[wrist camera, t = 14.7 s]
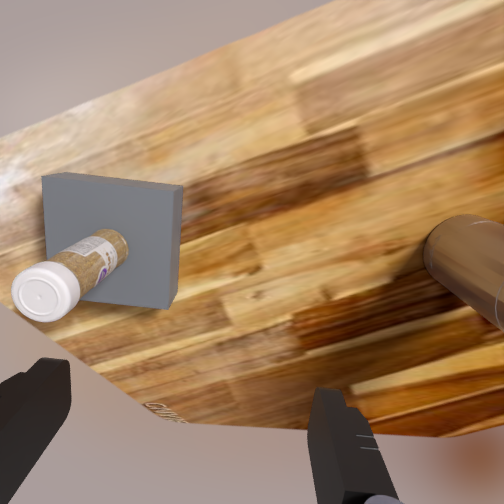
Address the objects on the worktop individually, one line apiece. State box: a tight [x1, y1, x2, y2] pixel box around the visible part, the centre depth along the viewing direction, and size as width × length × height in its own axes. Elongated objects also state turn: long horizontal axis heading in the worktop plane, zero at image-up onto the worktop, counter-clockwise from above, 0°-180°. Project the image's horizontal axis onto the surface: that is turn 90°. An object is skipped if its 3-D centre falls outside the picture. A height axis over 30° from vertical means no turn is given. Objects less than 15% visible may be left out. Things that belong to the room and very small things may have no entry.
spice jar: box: [11, 229, 129, 322], centre depth 33 cm, size 5×5×13 cm
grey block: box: [41, 172, 183, 310], centre depth 42 cm, size 14×14×5 cm
